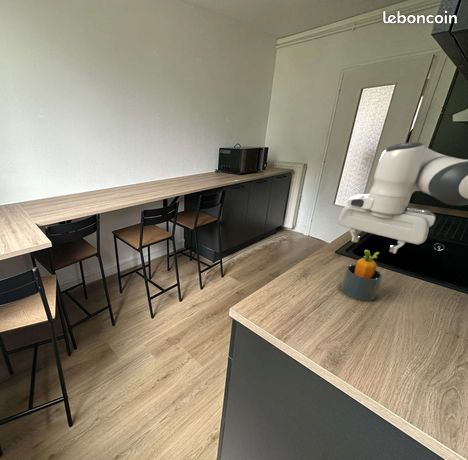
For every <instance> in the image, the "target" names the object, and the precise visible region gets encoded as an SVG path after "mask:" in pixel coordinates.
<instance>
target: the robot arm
mask: <svg viewBox="0 0 468 460" xmlns="http://www.w3.org/2000/svg"><path fill="white" fill-rule="evenodd" d="M414 192H422V193H424V194H427V195H429V196H431V197H433V198H435V199H436V200H438V201H440V202H441V203H443V204H446V205H449V206H456V207H457V206H467V205H468V159H464V158H457V157H454V156H449V155H445V154H442V153H439V152H437V151H435V150H433V149H431V148H429V147H427V146H426V145H425V143H423V142H412V141H411V142H402V143H397V144H393V145H390V146H388V147H386V148H385V149H384V151H383V152H382V154H381V156H380V158H379V160H378V163H377V165H376V168H375V171H374V175H373V184H372V186H371V188H370V190H369V192H368V193H365V194H364V193H363V194H356V195H353V196H351V197H350V198H348V199H347V201H346V206H344V207H343V208H342V210H341V213H340V215H339V218H338V224H339V226H341V227H344V228H348V229H349V233H350V235H351V242H352V243H355V244H356V243H359V242H360V238H361V236H359V235H358V234H357V231H361V232H365V233H369V234H373V235H377V236H381V237H386V238H389V239H392V240H393V239H394V240H397V245H393V244H392V245H390V247H389V250H388V252H389V253H391V254H394V255H395V254H396V255H397V252H398V250H399V248H401V247H403V246H404V245H405V244H406V243H410V244H412V245H413V244H414V245H421V244H423V243H425V242H426V240H427V239H428V235H429V232H430V231H429V230H430V228H431V227H432V226H433V225H435V222H436V218H437V217H436V214H434V213H433V212H431V210H428V209H421V208H416V207H412V206H409V203H410V200H411V197H412V195H413V193H414Z"/></svg>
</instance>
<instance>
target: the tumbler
mask: <svg viewBox="0 0 468 460" xmlns="http://www.w3.org/2000/svg"><path fill="white" fill-rule="evenodd" d="M356 264H357V263H355V264H350V265H349V264H348V265H347V266H346V269H345V273H344V276H343V280H342V282H341V287H340V289H341V291H342V292H343V293H344V294H345V295H346V296H348V297H350V298H351V299H354V300H358V301H363V302H370V301H373V300H375V298H376V296H377V293H378V291H379V287H380V284H381V282H382V279H383V274H382V273H381V272H380V271H378V270H377V269H376V270H375V273H374V275H373V277H372V279H367V278H363V277H360V276H357V275H355V274H354V272H355V268H356Z"/></svg>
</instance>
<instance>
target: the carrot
mask: <svg viewBox="0 0 468 460" xmlns="http://www.w3.org/2000/svg"><path fill="white" fill-rule="evenodd" d="M379 254H380V252H379V251H376V252H374V254H373V255H372V254H371V252H370V250H368V249H364V255H363V257H362V258H360V259H358V260H356V263H355V264H356V268H355V272H354V274H355V275H357V276H360V277H363V278H367V279H372V277H373V275H374V273H375V270H377V268H378V264H377V263H376V262H375V260H374V259H378V256H379Z"/></svg>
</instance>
